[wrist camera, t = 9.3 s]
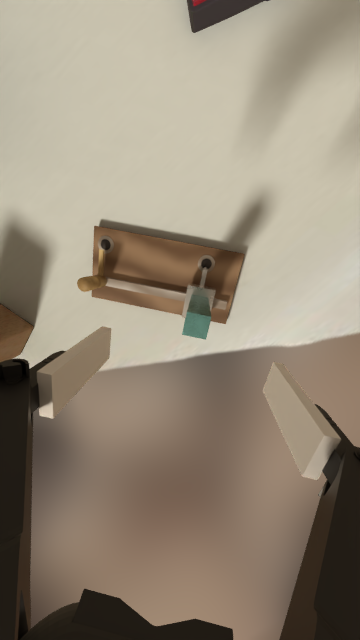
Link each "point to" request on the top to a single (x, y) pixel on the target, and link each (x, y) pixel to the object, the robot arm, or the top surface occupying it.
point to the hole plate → (159, 272)
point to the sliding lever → (198, 308)
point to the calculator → (215, 11)
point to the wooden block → (12, 334)
